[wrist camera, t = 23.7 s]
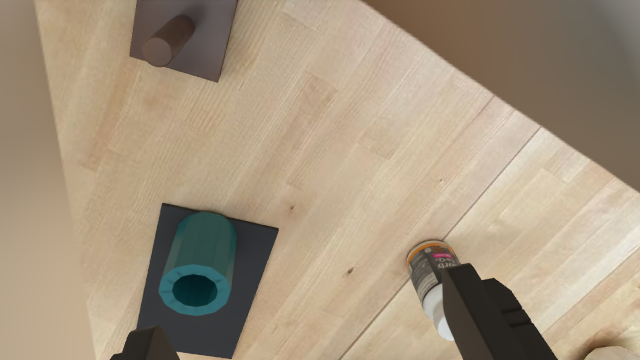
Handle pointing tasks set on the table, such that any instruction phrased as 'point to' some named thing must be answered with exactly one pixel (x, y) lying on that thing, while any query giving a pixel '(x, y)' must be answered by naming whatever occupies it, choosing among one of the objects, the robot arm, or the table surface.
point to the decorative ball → (612, 354)
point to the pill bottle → (431, 279)
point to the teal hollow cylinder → (200, 265)
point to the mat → (227, 322)
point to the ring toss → (183, 34)
